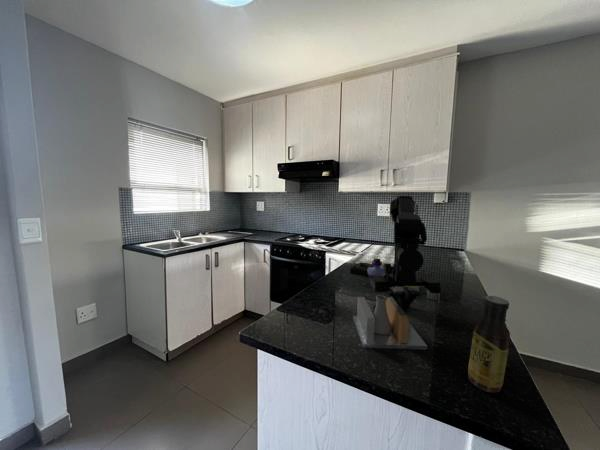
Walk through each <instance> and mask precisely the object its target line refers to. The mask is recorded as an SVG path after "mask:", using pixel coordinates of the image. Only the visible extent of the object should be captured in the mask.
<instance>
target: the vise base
mask: <svg viewBox="0 0 600 450" xmlns="http://www.w3.org/2000/svg"><path fill="white" fill-rule="evenodd" d="M356 307H357V309H356V315H353V317H352V319H353V322H354V326H355V328H356V330H357V334H358V335H359V336H358V337H359V340H360V343H361V345H362V348H368V349H370V348H371V349H392V350H393V349H395V350H396V349H397V350H398V349H399V350H423V351H424V350H426V351H427V350H428V345H427V344H426V342H425V341H424V340H423V338H422V337H421V336H420V334H419V333H418V331H416V329H415V327H413V325H412V324H411V322H409V327H408V342H407V343H400V342H399V340H398V339H397V337H396V335H395V334H394V332H393V330H392V332H391V334H383V335H380V334H377V333H374V325H375V318H374V316H373V312H372V310H371V308H370V306H369V304H368V302H367V301H366V299H365V296H357V305H356Z"/></svg>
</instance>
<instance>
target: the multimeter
mask: <svg viewBox="0 0 600 450" xmlns="http://www.w3.org/2000/svg"><path fill="white" fill-rule="evenodd" d="M383 266H384V265H381V266H380V268H383ZM369 267H374V265H373V264H372V263H366V262H358V263H356V264H355V265H353V266H351V267H350V269H349V272H350V274H351V275H356V276H361V277H364V278H365V277H366V278H369V276H368V272H367V269H368V268H369ZM387 275H389V274H385V276H384V277H385V278H386V279H387Z"/></svg>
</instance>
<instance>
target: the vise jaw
mask: <svg viewBox="0 0 600 450" xmlns="http://www.w3.org/2000/svg"><path fill="white" fill-rule="evenodd" d="M386 310H387V314H388V317H389V320H390V323H391V326H392V330H393V332H394V334H395V335H396V337H397V339H398V340H399V342H400V343H407V342H408V327H409V323H410V319H409V316H407V315H406V312H404V311H403V310H402V308H401V307H400V306H399V305H398V303H397V302H396V301H395V300H394V298H393V297H390V298H387V300H386Z"/></svg>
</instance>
